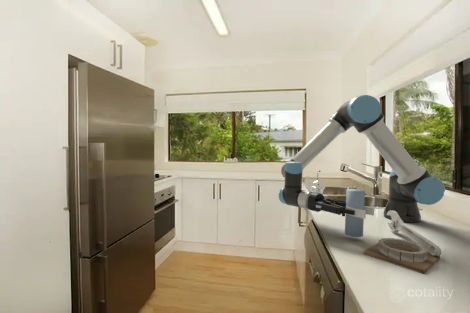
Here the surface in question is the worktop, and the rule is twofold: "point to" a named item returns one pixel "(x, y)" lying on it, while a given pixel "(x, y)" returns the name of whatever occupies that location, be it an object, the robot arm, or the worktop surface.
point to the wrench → (412, 234)
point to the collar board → (403, 263)
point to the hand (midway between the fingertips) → (369, 213)
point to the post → (353, 223)
